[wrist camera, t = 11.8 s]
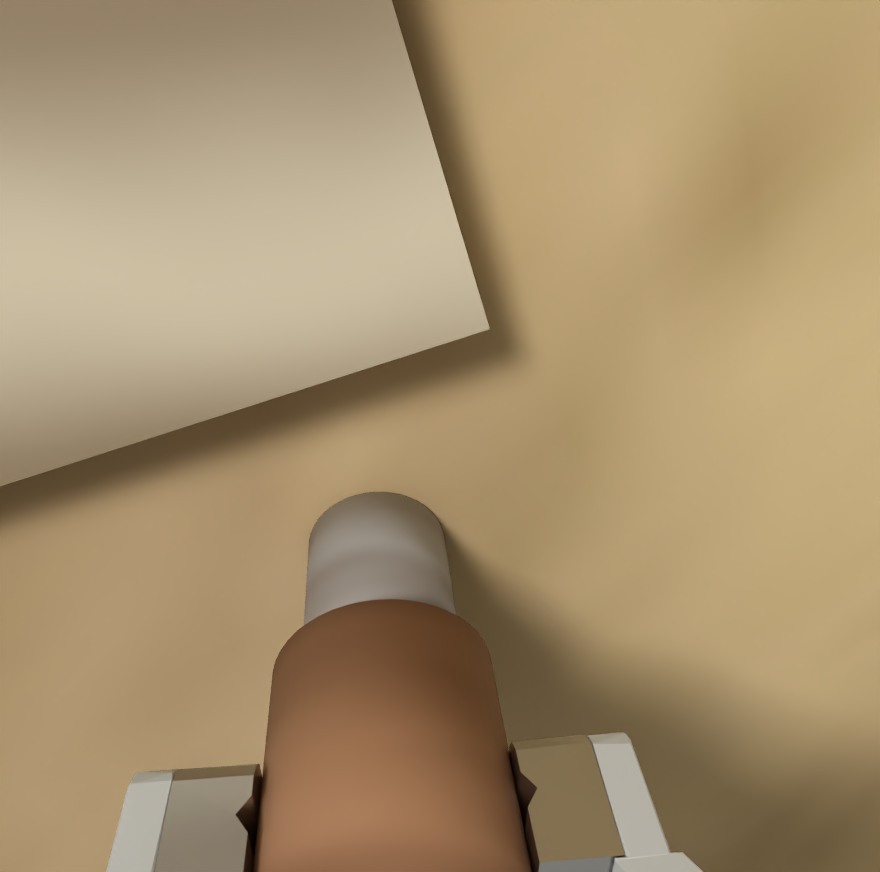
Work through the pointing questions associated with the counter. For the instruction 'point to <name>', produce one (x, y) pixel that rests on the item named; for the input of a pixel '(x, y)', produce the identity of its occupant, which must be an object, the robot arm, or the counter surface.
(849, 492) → the counter surface
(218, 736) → the counter surface
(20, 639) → the counter surface
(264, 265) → the beige flat block
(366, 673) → the brown rounded cylinder
